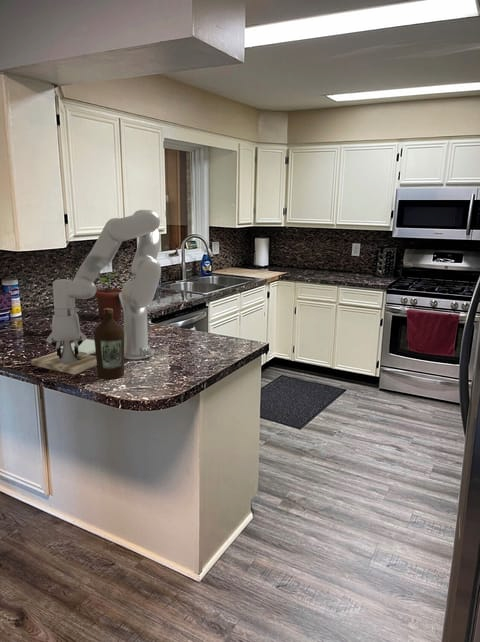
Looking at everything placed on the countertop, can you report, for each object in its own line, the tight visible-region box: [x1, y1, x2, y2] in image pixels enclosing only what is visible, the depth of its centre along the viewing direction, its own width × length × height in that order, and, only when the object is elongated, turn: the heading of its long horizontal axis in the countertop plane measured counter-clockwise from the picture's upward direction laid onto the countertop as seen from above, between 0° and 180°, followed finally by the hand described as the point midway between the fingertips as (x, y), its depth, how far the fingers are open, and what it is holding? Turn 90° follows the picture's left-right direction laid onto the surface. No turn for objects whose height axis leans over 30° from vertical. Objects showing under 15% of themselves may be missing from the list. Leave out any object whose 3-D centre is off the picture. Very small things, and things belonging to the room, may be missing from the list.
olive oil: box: [93, 308, 125, 380], centre depth 167 cm, size 11×11×25 cm
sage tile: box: [60, 338, 96, 355], centre depth 203 cm, size 16×16×1 cm
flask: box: [58, 341, 78, 365], centre depth 180 cm, size 7×7×10 cm
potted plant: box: [94, 273, 123, 323], centre depth 252 cm, size 18×22×25 cm
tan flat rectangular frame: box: [31, 350, 97, 375], centre depth 181 cm, size 22×16×2 cm
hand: (68, 356), depth 180 cm, fingers closed on flask, 5 cm apart
